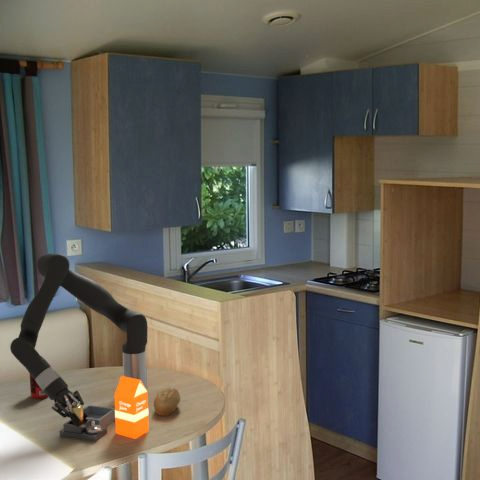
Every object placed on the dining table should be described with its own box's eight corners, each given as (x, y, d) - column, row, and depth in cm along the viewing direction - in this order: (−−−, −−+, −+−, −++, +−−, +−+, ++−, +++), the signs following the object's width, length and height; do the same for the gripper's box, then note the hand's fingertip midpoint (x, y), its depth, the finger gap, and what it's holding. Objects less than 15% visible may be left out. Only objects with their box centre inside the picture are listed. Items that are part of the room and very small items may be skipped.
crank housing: (72, 427, 258) (71, 411, 257) (106, 432, 253) (106, 416, 252) (59, 436, 251) (58, 419, 250) (94, 442, 246) (93, 424, 245)
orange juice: (134, 439, 248) (133, 383, 245) (115, 433, 253) (113, 378, 250) (149, 431, 255) (147, 376, 252) (130, 425, 259) (128, 372, 256)
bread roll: (183, 402, 281) (183, 383, 280) (176, 418, 266) (176, 397, 265) (159, 402, 282) (158, 382, 280) (151, 417, 267) (150, 396, 266)
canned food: (54, 393, 292) (53, 367, 291) (43, 400, 285) (42, 373, 283) (38, 391, 295) (37, 365, 293) (27, 398, 287) (25, 371, 286)
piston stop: (76, 425, 255) (75, 403, 254) (86, 427, 254) (85, 405, 252) (70, 430, 251) (69, 408, 250) (80, 431, 250) (78, 409, 249)
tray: (89, 415, 269) (88, 404, 269) (116, 418, 265) (115, 408, 265) (71, 426, 259) (71, 416, 258) (99, 431, 255) (99, 420, 254)
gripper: (45, 383, 246) (77, 422, 243) (69, 370, 259) (100, 406, 256) (33, 396, 248) (64, 434, 246) (57, 383, 261) (87, 419, 259)
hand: (82, 420), depth 251 cm, fingers closed on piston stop, 4 cm apart
